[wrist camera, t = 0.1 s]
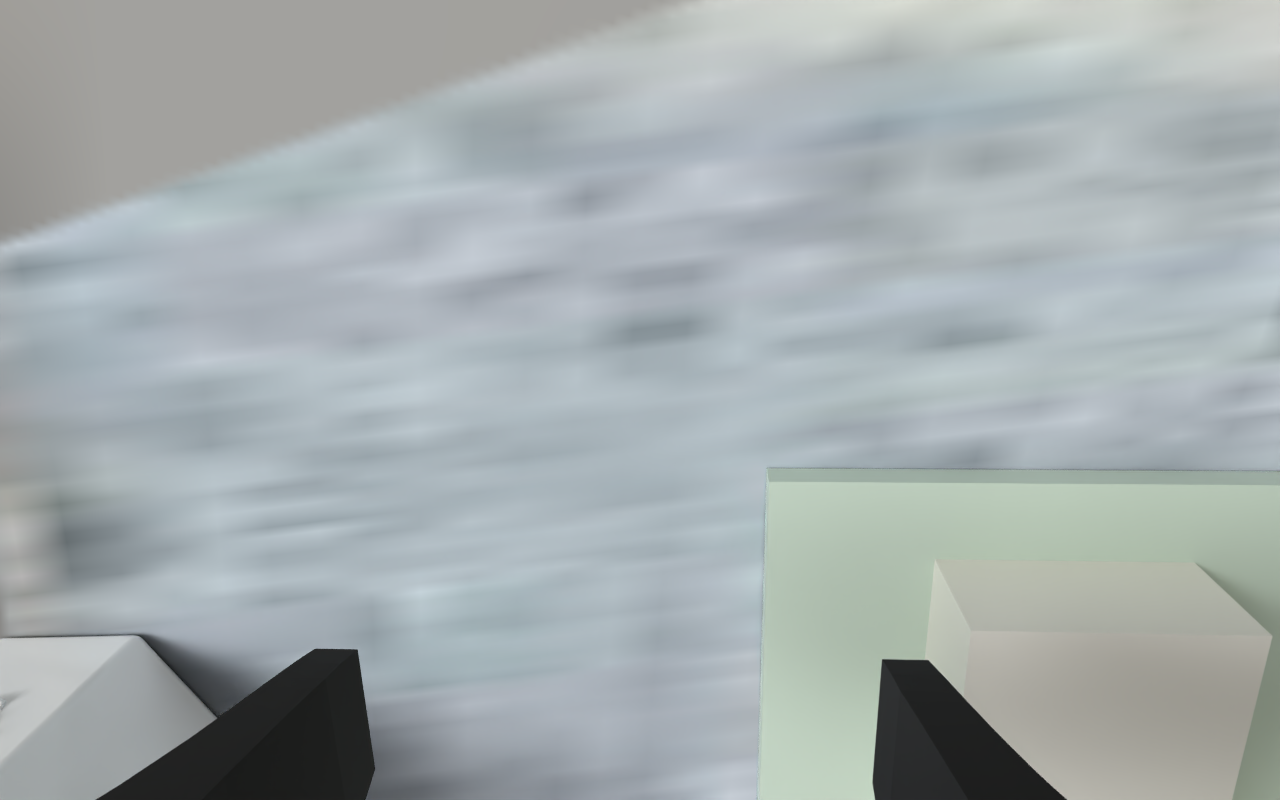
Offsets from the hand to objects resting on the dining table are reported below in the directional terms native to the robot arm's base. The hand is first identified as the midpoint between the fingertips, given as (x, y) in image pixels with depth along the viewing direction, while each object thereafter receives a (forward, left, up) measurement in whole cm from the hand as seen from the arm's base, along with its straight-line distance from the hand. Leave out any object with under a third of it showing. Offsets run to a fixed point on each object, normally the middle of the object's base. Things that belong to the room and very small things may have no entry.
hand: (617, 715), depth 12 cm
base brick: (-7, -10, -9) cm, 15 cm away
